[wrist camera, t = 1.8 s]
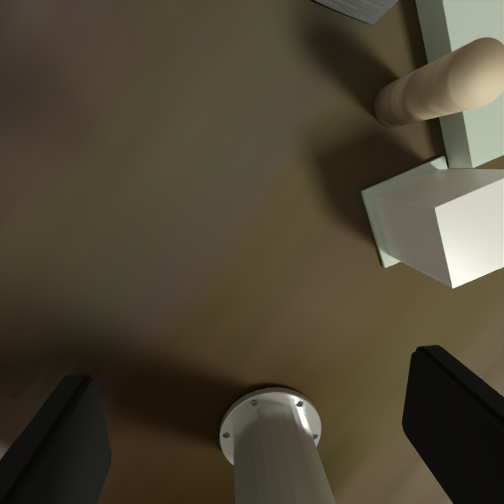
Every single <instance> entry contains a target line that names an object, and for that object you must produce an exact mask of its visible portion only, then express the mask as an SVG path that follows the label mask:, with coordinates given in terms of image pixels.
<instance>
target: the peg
mask: <svg viewBox="0 0 504 504" xmlns="http://www.w3.org/2000/svg"><path fill="white" fill-rule="evenodd" d="M503 90H504V45H503V44H502V43H501V42H500V41H499V40H497V39H494V38H490V37H483V38H479V39H476V40H474V41H472V42H470V43H468V44H466V45H464V46H462V47H460V48H458V49H456V50H454V51H452V52H450V53H449V54H447V55H445V56H443V57H441V58H439V59H437V60H435V61H433V62H431V63H429V64H427V65H425V66H423V67H421V68H419V69H417V70H415V71H413V72H411V73H409V74H407V75H405V76H403V77H401V78H399V79H397V80H395V81H393V82H391V83H389V84H387V85H385V86H384V87H383V88H382V89H381V90H380V91H379V93H378V95H377V97H376V100H375V105H374V109H375V114H376V117H377V119H378V120H379V122H380V123H381V124H383V125H384V126H387V127H398V126H402V125H406V124H410V123H415V122H419V121H423V120H427V119H432V118H436V117H440V116H444V115H449V114H453V113H457V112H461V111H466V110H470V109H474V108H478V107H483V106H485V105H488V104H490V103H491V102H493V101H494V100H495V99H496V98H497V97H498V96H499V95H500V94H501V93H502V91H503Z"/></svg>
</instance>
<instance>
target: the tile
mask: <svg viewBox="0 0 504 504" xmlns="http://www.w3.org/2000/svg"><path fill="white" fill-rule="evenodd" d="M437 169H447V164H446V159H445V156H441V157H438V158H436V159H434V160H432V161H429V162H427V163H425V164H422V165H420V166H418V167H415V168H413V169H411V170H408V171H406V172H404V173H401V174H399V175H397V176H395V177H392V178H390V179H388V180H385V181H383V182H381V183H378V184H376V185H374V186H371V187H369V188H367V189H365V190H362V191H361V194H362V198H363V201H364V204H365V208H366V211H367V214H368V218H369V221H370V224H371V228H372V231H373V234H374V238H375V241H376V244H377V248H378V251H379V254H380V258H381V261H382V264H383V267H384V268H387V267H389V266H391V265H394V264H396V263H398V262H401V261H399V260H397V259H395V258H393V257H391V254H390V250H389V247H388V243H387V240H386V236H385V233H384V229H383V226H382V222H381V219H380V215H379V212H378V209H377V205H376V202H375V198H374V197H375V196H377V195H379V194H382V193H384V192H386V191H389V190H391V189H393V188H396V187H398V186H400V185H402V184H405V183H407V182H409V181H412V180H414V179H416V178H419V177H421V176H423V175H426V174H428V173H430V172H433V171H435V170H437Z"/></svg>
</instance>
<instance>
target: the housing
mask: <svg viewBox="0 0 504 504" xmlns="http://www.w3.org/2000/svg"><path fill="white" fill-rule="evenodd" d="M374 198H375V202H376V205H377V209H378V212H379V215H380V219H381V222H382V226H383V229H384V233H385V236H386V240H387V243H388V247H389V250H390V254H391V257H393V258H395V259H397V260H399V261H401V262H403V263H405V264H407V265H408V266H410V267H412V268H414V269H416V270H418V271H420V272H422V273H424V274H426V275H428V276H430V277H432V278H434V279H436V280H438V281H439V282H441V283H443V284H445V285H447V286H449V287H451V288H455V287H457V286H460V285H462V284H465V283H467V282H469V281H472V280H474V279H476V278H479V277H481V276H483V275H486V274H488V273H490V272H493V271H495V270H497V269H500V268H502V267H504V170H486V169H437V170H435V171H433V172H430V173H428V174H426V175H423V176H421V177H419V178H416V179H414V180H412V181H409V182H407V183H405V184H402V185H400V186H398V187H396V188H393V189H391V190H389V191H386V192H384V193H382V194H379V195H377V196H375V197H374Z"/></svg>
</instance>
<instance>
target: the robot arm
mask: <svg viewBox="0 0 504 504" xmlns="http://www.w3.org/2000/svg"><path fill="white" fill-rule="evenodd" d="M402 426H403V430H404V432H405V434H406V436H407V438H408V439H409V441H410V442H411V443H412V445H413V446H414V448H415V449H416V451H417V452H418V453H419V455H420V456H421V458H422V459H423V461H424V462H425V464H426V465H427V466H428V468H429V469H430V471H431V472H432V474H433V475H434V477H435V478H436V479H437V481H438V482H439V484H440V485H441V487H442V488H443V490H444V491H445V492H446V494H447V495H448V497H449V498H450V500H451V501H452V502H453V504H504V397H503V396H502V395H500V394H499V393H498V392H497V391H495V390H494V389H493V388H492V387H490V386H489V385H488V384H487V383H485V382H484V381H483V380H482V379H481V378H479V377H478V376H477V375H476V374H474V373H473V372H472V371H471V370H469V369H468V368H467V367H466V366H464V365H463V364H462V363H461V362H460V361H458V360H457V359H456V358H455V357H453V356H452V355H451V354H450V353H448V352H447V351H446V350H445V349H443V348H442V347H441V346H438V345H432V346H420V347H418V348H417V349H416V351H415V352H413V353H412V356H411V362H410V369H409V376H408V383H407V390H406V397H405V404H404V411H403V418H402ZM320 435H321V421H320V418H319V415H318V412H317V410H316V408H315V406H314V405H313V404H312V402H311V401H310V400H309V399H308V398H307V397H305V396H304V395H303V394H301V393H299V392H297V391H294V390H291V389H288V388H280V387H272V388H264V389H259V390H256V391H253V392H251V393H248V394H247V395H245V396H243V397H241V398H240V399H238V400H237V401H236V402H235V403H234V404H232V406H231V407H230V408H229V409H228V410H227V412H226V414H225V415H224V417H223V419H222V422H221V426H220V446H221V449H222V452H223V454H224V455H225V457H226V459H227V460H228V461H229V462H230V463H231V464H232V465H234V483H235V504H336V503H335V500H334V497H333V494H332V491H331V488H330V486H329V483H328V480H327V477H326V474H325V471H324V468H323V465H322V462H321V459H320V456H319V454H318V451H317V448H316V446H317V444H318V442H319V439H320ZM110 464H111V448H110V443H109V438H108V433H107V428H106V422H105V417H104V412H103V407H102V402H101V397H100V391H99V386H98V382H97V380H96V379H91V376H90V375H89V374H80V375H68V376H65V377H64V378H63V379H62V380H61V381H60V383H59V384H58V385H57V387H56V388H55V389H54V391H53V392H52V393H51V395H50V396H49V397H48V399H47V400H46V401H45V403H44V404H43V406H42V407H41V408H40V409H39V411H38V412H37V414H36V415H35V416H34V418H33V419H32V420H31V422H30V423H29V424H28V426H27V427H26V428H25V429H24V431H23V432H22V433H21V435H20V436H19V437H18V438H17V439H16V441H14V443H13V444H12V445H11V447H10V448H9V449H8V451H7V452H6V453H5V455H4V456H3V457H2V458H1V460H0V504H96V503H97V501H98V498H99V495H100V493H101V490H102V487H103V484H104V482H105V479H106V476H107V474H108V471H109V468H110Z"/></svg>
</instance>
